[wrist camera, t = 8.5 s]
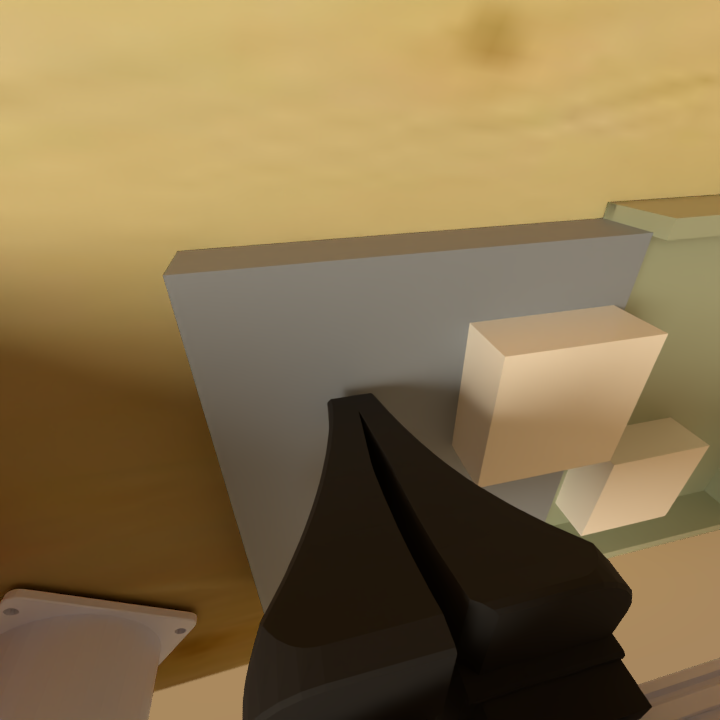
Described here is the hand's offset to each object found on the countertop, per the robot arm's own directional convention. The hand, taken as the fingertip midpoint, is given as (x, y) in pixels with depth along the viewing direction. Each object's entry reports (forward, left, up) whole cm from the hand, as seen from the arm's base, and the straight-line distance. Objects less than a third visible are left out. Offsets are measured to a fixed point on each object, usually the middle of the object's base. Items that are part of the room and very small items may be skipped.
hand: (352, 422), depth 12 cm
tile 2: (+3, -15, -2) cm, 16 cm away
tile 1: (+4, -5, -1) cm, 6 cm away
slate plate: (-1, -4, -3) cm, 5 cm away
